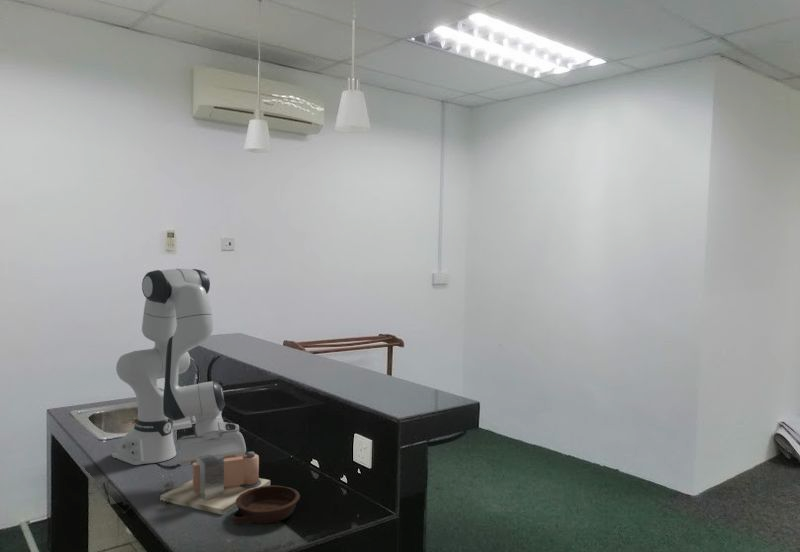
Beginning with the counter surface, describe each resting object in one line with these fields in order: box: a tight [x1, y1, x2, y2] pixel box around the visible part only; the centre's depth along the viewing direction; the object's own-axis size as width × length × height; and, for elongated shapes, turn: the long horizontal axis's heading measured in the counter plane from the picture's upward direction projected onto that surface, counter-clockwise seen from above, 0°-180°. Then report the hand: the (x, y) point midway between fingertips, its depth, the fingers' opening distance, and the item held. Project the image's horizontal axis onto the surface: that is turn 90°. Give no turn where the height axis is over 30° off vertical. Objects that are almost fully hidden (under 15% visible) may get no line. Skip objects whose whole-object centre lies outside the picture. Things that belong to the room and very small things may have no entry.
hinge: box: [172, 416, 193, 431], centre depth 243 cm, size 17×5×10 cm, turn 127°
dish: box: [231, 484, 301, 525], centre depth 166 cm, size 17×22×5 cm
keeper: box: [197, 454, 224, 500], centre depth 174 cm, size 6×5×12 cm
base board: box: [159, 477, 271, 516], centre depth 180 cm, size 23×23×2 cm
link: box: [192, 451, 260, 492], centre depth 180 cm, size 20×5×9 cm, turn 115°
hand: (215, 473), depth 180 cm, fingers closed, pressing on link
